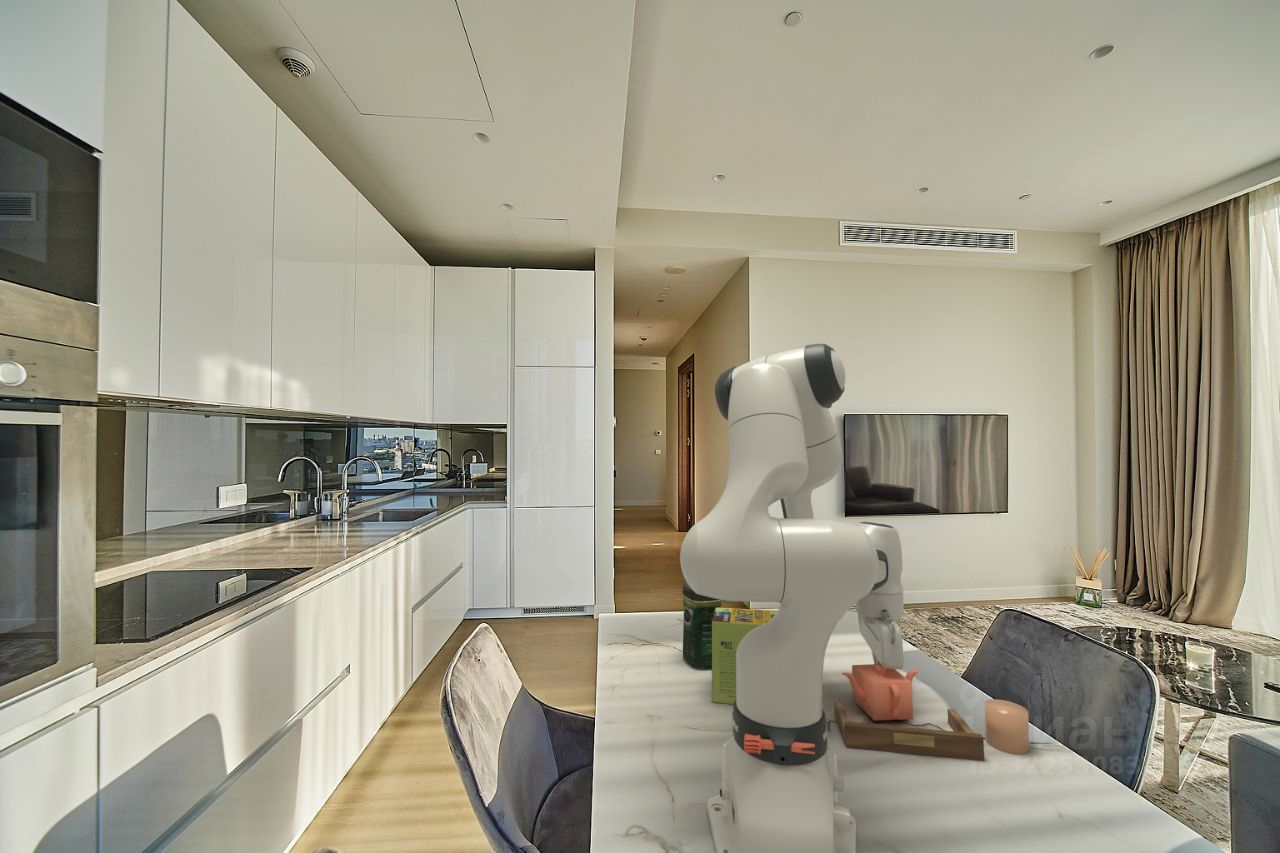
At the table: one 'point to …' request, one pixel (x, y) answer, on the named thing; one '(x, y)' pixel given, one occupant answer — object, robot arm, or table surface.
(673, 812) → the table surface
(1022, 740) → the peach rounded cylinder
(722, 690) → the protein box
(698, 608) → the coffee jar
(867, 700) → the teapot
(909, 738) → the display bay
